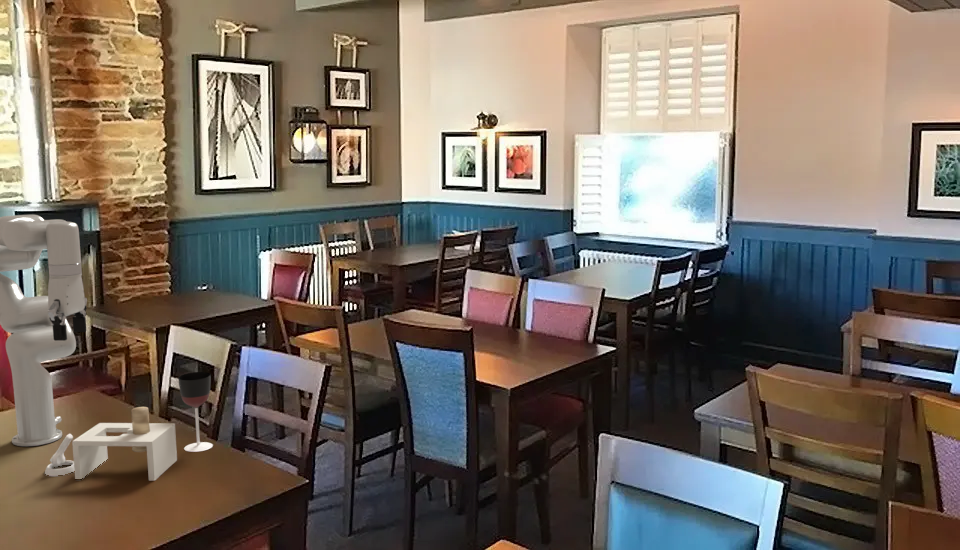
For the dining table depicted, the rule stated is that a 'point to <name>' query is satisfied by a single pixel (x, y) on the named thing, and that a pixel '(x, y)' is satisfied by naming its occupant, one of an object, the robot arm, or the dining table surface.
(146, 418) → the peg
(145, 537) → the dining table surface
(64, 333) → the robot arm
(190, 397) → the wineglass
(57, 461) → the hook
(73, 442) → the keyhole shelf
